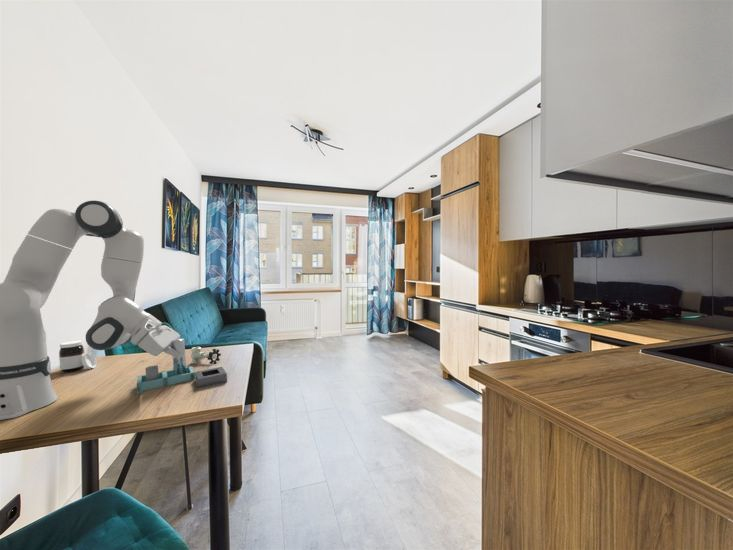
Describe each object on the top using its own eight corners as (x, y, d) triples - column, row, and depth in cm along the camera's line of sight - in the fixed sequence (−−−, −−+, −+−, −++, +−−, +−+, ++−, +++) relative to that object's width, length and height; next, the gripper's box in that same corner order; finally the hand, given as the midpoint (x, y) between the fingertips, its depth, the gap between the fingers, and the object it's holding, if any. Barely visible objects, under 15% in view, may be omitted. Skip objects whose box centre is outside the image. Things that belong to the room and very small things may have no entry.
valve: (186, 364, 134) (209, 366, 130) (186, 349, 133) (209, 351, 130) (199, 360, 140) (221, 361, 137) (198, 345, 140) (220, 346, 136)
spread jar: (61, 369, 132) (59, 342, 132) (96, 362, 140) (94, 337, 139) (59, 376, 123) (57, 347, 123) (97, 369, 131) (95, 341, 131)
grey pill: (174, 374, 112) (171, 341, 111) (173, 371, 115) (171, 339, 114) (186, 372, 114) (184, 339, 113) (185, 369, 117) (183, 337, 117)
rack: (137, 394, 104) (135, 373, 104) (138, 385, 111) (137, 366, 111) (195, 382, 113) (194, 363, 113) (192, 374, 121) (191, 357, 121)
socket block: (198, 391, 105) (197, 379, 105) (195, 382, 113) (194, 371, 112) (227, 384, 110) (226, 373, 110) (222, 377, 118) (222, 366, 117)
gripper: (152, 330, 121) (182, 352, 124) (127, 343, 101) (164, 369, 104) (165, 317, 122) (194, 340, 125) (142, 328, 102) (178, 354, 105)
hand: (180, 353), depth 114 cm, fingers closed on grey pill, 4 cm apart
